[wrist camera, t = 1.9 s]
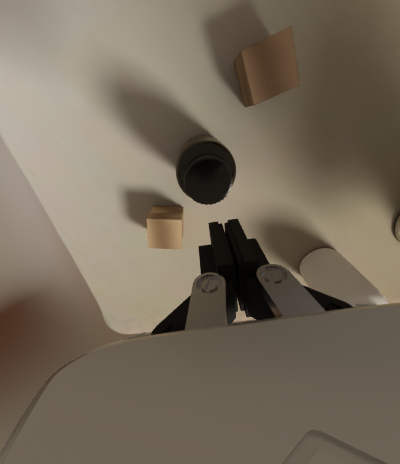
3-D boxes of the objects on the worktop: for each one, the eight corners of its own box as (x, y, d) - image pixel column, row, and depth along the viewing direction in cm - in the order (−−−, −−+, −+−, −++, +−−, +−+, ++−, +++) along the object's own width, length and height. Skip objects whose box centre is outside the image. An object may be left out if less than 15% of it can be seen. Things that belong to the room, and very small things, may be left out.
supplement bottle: (193, 190, 33) (192, 224, 22) (171, 149, 30) (157, 166, 19) (233, 170, 31) (252, 196, 21) (214, 124, 28) (225, 128, 18)
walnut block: (274, 42, 24) (291, 26, 20) (282, 90, 27) (299, 84, 22) (233, 62, 25) (241, 51, 21) (244, 107, 27) (254, 105, 23)
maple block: (183, 206, 34) (181, 220, 30) (183, 233, 36) (181, 249, 32) (152, 205, 34) (146, 218, 30) (154, 232, 36) (148, 248, 32)
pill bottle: (296, 282, 42) (342, 356, 29) (299, 249, 38) (353, 318, 25) (336, 276, 42) (401, 349, 29) (343, 243, 38) (421, 310, 25)
